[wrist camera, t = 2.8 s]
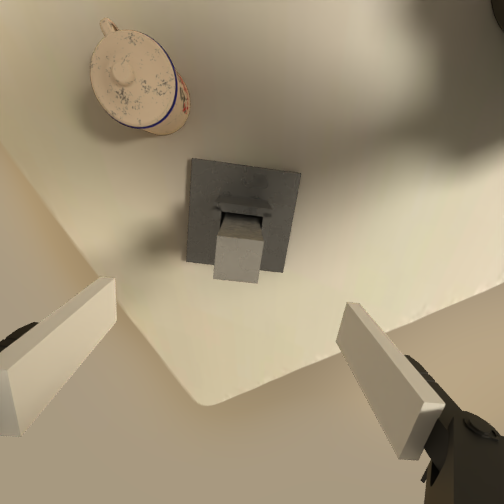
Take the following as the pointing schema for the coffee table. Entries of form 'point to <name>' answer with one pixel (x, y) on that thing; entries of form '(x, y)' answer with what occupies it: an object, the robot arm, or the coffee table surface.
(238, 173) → the stand base
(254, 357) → the coffee table surface
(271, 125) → the coffee table surface
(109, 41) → the teacup with lid
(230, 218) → the column
